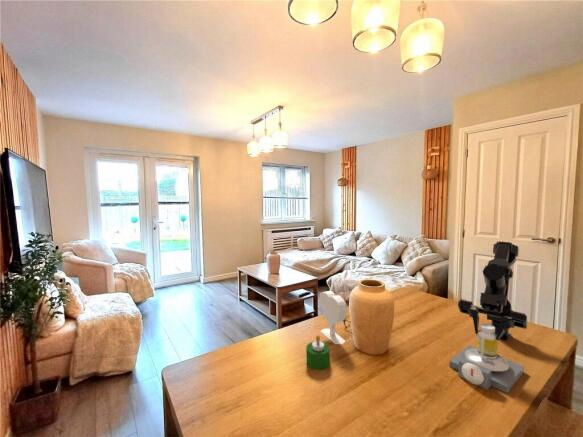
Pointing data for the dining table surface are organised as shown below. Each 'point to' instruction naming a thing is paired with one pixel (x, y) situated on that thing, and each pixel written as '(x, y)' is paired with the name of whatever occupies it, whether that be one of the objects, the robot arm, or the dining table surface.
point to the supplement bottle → (487, 341)
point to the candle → (318, 354)
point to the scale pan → (487, 361)
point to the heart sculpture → (333, 314)
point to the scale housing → (486, 373)
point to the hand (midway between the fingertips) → (486, 336)
